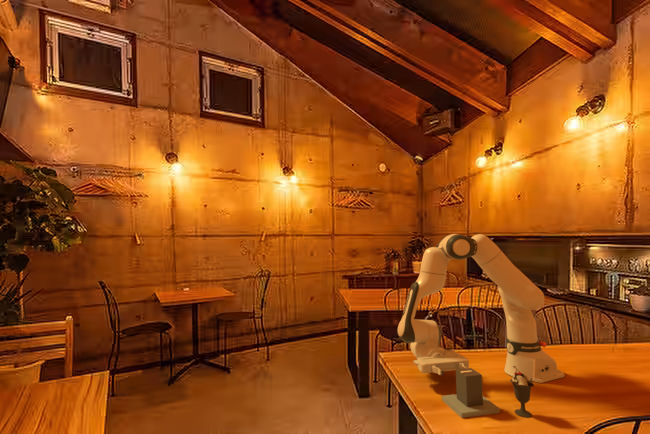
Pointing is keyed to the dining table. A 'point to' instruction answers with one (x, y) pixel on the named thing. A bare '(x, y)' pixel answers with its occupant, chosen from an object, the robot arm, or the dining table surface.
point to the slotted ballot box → (469, 387)
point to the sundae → (522, 392)
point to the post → (470, 411)
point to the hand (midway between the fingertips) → (453, 371)
